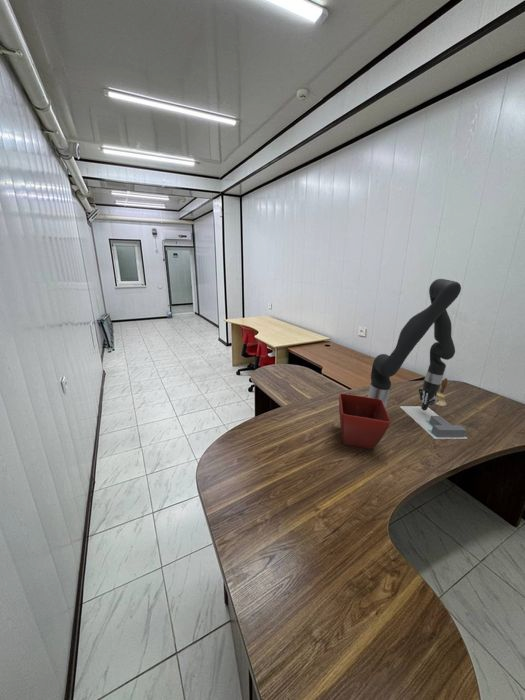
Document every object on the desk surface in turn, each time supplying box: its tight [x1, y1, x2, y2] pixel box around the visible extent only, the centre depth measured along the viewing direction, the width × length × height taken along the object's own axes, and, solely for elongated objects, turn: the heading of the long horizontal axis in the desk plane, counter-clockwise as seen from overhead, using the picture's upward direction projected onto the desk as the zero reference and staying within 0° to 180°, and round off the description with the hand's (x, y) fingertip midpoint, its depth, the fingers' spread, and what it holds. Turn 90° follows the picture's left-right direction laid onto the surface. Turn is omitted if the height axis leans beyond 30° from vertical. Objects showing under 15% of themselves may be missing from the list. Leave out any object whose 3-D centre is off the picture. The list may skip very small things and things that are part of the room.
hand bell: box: [434, 377, 448, 407], centre depth 161 cm, size 8×8×16 cm
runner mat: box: [399, 405, 468, 440], centre depth 143 cm, size 17×29×1 cm, turn 6°
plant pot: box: [338, 392, 392, 450], centre depth 122 cm, size 19×19×17 cm
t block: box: [429, 415, 467, 437], centre depth 135 cm, size 14×12×4 cm
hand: (423, 409), depth 148 cm, fingers closed
